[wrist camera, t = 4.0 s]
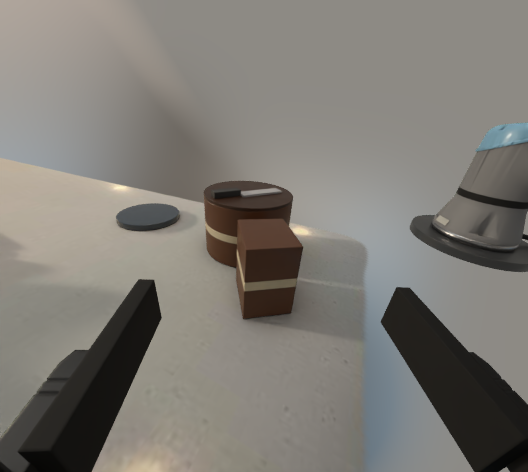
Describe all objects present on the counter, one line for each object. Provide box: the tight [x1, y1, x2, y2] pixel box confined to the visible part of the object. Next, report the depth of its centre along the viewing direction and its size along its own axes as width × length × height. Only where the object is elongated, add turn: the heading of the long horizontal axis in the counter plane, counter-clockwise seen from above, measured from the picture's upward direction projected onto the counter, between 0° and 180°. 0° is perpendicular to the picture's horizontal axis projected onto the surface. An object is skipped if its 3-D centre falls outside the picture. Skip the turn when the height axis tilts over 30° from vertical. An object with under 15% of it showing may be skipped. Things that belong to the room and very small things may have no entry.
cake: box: [204, 181, 293, 267], centre depth 32 cm, size 12×12×9 cm
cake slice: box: [236, 219, 303, 319], centre depth 23 cm, size 6×5×8 cm
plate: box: [116, 204, 179, 231], centre depth 40 cm, size 10×10×1 cm
